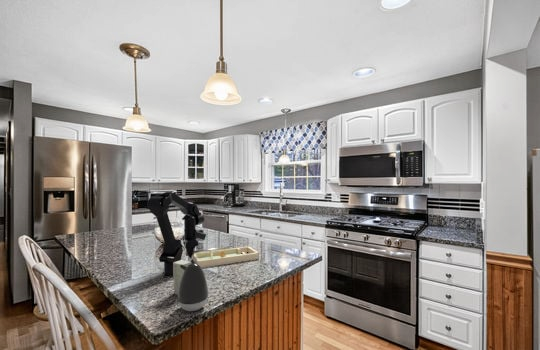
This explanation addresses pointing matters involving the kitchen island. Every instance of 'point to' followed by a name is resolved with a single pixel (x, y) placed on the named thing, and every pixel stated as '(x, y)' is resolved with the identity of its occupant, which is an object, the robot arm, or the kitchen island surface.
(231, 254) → the tray
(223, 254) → the ball
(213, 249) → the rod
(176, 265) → the skincare box
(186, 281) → the pump dispenser
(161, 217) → the robot arm
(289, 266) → the kitchen island surface
